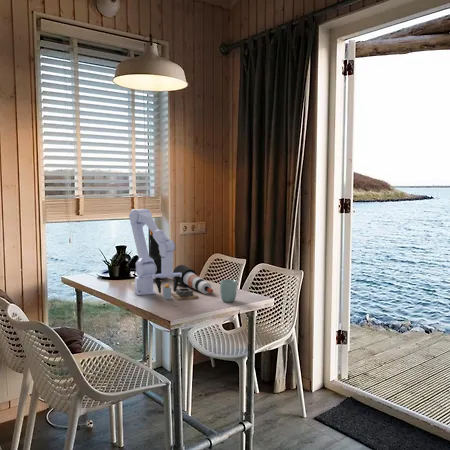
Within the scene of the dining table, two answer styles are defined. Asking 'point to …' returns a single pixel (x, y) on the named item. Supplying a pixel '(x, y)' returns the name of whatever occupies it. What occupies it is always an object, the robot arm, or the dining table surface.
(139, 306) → the dining table surface
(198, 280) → the cable
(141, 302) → the dining table surface
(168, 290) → the connector
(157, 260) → the bottle
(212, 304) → the dining table surface
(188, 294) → the holder
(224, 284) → the cup
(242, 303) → the dining table surface
